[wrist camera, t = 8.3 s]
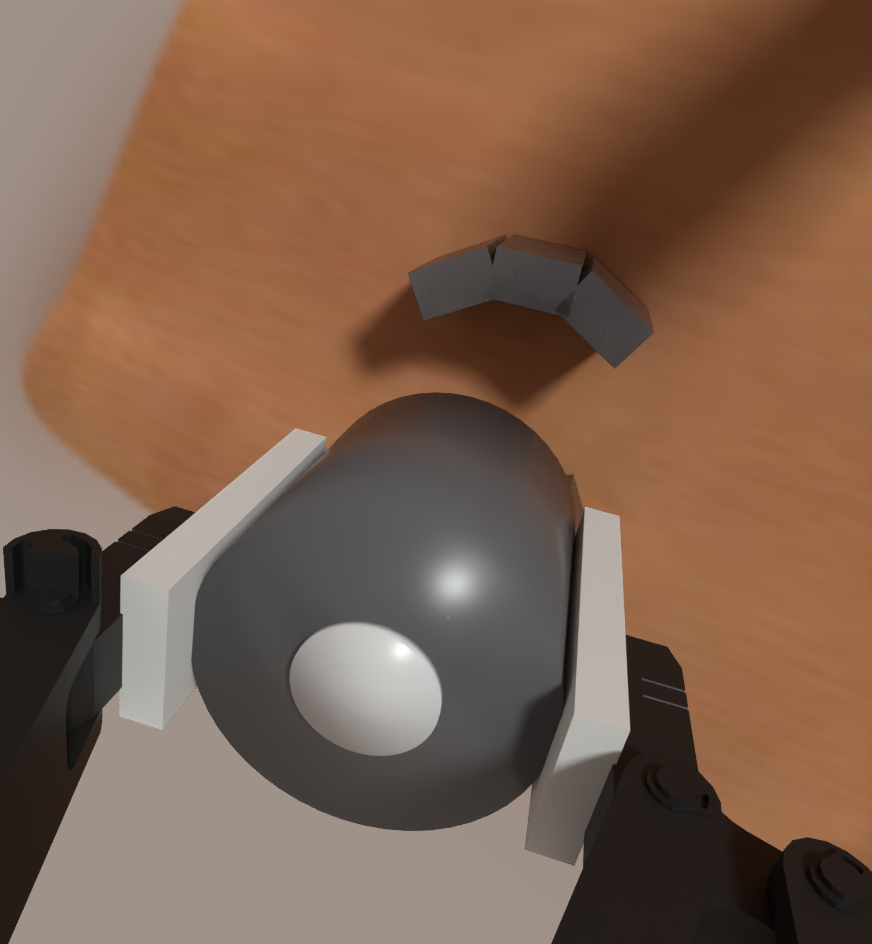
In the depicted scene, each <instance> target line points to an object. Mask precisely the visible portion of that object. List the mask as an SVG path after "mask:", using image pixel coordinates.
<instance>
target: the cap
mask: <svg viewBox="0 0 872 944" xmlns="http://www.w3.org/2000/svg"><path fill="white" fill-rule="evenodd" d="M575 529H576V515H575V504H574V500H573V495H572V490H571V488H570V485H569V482H568V479H567V477H566V474H565V472H564V470H563V469H562V467H561V465H560V463H559V461H558V459H557V458H556V456H555V455H554V454H553V452H552V451H551V449H550V448H549V447H548V445H547V444H546V443H545V442H544V441H543V440H542V439H541V438H540V437H539V436H538V435H537V433H536V432H535V431H533V430H532V429H531V428H530V427H528V426H527V425H526V424H525V423H524V422H522V421H521V420H520V419H518V418H517V417H515V416H513V415H512V414H510V413H509V412H507V411H505V410H503V409H501V408H499V407H497V406H495V405H493V404H491V403H488V402H485V401H482V400H479V399H476V398H473V397H469V396H464V395H458V394H453V393H436V392H435V393H421V394H414V395H409V396H404V397H400V398H397V399H394V400H392V401H389V402H386V403H384V404H382V405H380V406H378V407H376V408H374V409H372V410H370V411H369V412H368V413H366V414H365V415H363V416H362V417H361V418H359V419H358V420H357V421H356V422H355V423H354V424H353V425H352V426H351V427H349V428H348V429H347V430H346V431H345V432H344V433H343V434H342V435H341V436H340V437H339V438H338V439H337V440H336V441H335V443H334V444H333V445H332V446H331V447H330V448H329V449H328V450H327V451H326V452H325V453H324V454H323V455H322V456H321V457H320V458H319V459H318V460H317V461H316V462H315V463H314V464H313V465H312V466H311V467H310V468H309V469H308V470H307V471H306V472H305V473H304V474H303V475H302V476H301V477H300V478H299V479H298V480H297V481H296V482H295V483H294V484H293V485H292V486H291V487H290V488H289V489H288V490H287V491H286V492H285V493H284V494H283V495H282V496H281V497H280V498H279V499H278V500H277V501H276V502H275V503H274V504H273V505H272V506H271V507H270V508H269V509H268V510H267V511H266V512H265V513H264V514H263V515H262V516H261V517H260V518H259V519H258V520H257V521H256V522H255V523H254V524H253V525H252V526H251V527H250V528H249V529H248V530H247V531H246V532H245V533H244V534H243V535H242V536H241V537H240V538H239V539H238V540H237V541H236V542H235V543H234V544H233V545H232V547H231V548H230V549H229V550H228V551H227V552H226V553H225V554H224V555H223V556H222V557H221V558H220V559H219V560H218V561H217V562H216V564H215V565H214V567H213V568H212V569H211V571H210V572H209V573H208V575H207V576H206V578H205V580H204V582H203V584H202V586H201V588H200V590H199V592H198V595H197V598H196V601H195V612H194V627H193V642H192V657H191V661H192V667H193V672H194V676H195V679H196V682H197V686H198V689H199V692H200V694H201V696H202V698H203V701H204V703H205V705H206V707H207V710H208V711H209V713H210V714H211V716H212V718H213V720H214V721H215V723H216V725H217V726H218V728H219V729H220V731H221V732H222V733H223V735H224V736H225V737H226V739H227V740H228V741H229V743H230V744H231V745H232V746H233V747H234V749H235V750H236V751H237V752H238V753H239V754H240V755H241V756H242V757H243V758H244V759H245V761H246V762H248V763H249V764H250V765H251V766H252V767H253V768H254V769H255V770H256V771H258V772H259V773H260V774H261V775H262V776H263V777H265V778H266V779H267V780H269V781H270V782H272V783H273V784H274V785H276V786H277V787H278V788H280V789H281V790H283V791H284V792H286V793H288V794H289V795H291V796H293V797H294V798H296V799H297V800H299V801H301V802H303V803H305V804H307V805H309V806H311V807H313V808H315V809H317V810H319V811H322V812H324V813H327V814H329V815H332V816H335V817H338V818H340V819H343V820H347V821H350V822H354V823H357V824H361V825H365V826H371V827H377V828H383V829H391V830H403V831H423V830H434V829H443V828H450V827H454V826H458V825H462V824H466V823H470V822H473V821H475V820H477V819H480V818H483V817H485V816H488V815H490V814H492V813H494V812H496V811H498V810H499V809H501V808H503V807H505V806H507V805H508V804H509V803H511V802H512V801H513V800H514V799H516V798H517V797H518V796H520V795H521V794H522V793H524V791H525V790H526V789H527V788H528V787H529V786H530V785H531V784H532V783H533V782H534V781H535V780H536V779H537V778H538V776H539V775H540V773H541V772H542V770H543V767H544V764H545V762H546V759H547V756H548V753H549V750H550V748H551V745H552V742H553V739H554V736H555V733H556V731H557V728H558V725H559V722H560V719H561V717H562V712H563V699H564V685H565V671H566V657H567V643H568V629H569V614H570V600H571V586H572V572H573V558H574V544H575Z"/></svg>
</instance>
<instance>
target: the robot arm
mask: <svg viewBox="0 0 872 944" xmlns="http://www.w3.org/2000/svg"><path fill="white" fill-rule="evenodd" d="M326 439H327V437H325V436H321V435H317V434H314V433H310V432H306V431H302V430H299V429H294V430H293V431H292V432H291V433H290V434H288V435H287V436H286V437H285V438H284V439H282V440H281V441H280V442H279V443H278V444H276V445H275V446H274V447H273V448H272V449H271V450H269V451H268V452H267V453H266V454H265V455H263V456H262V457H261V458H260V459H259V460H257V461H256V462H255V463H254V464H253V465H252V466H250V467H249V468H248V469H247V470H246V471H244V472H243V473H242V474H241V475H240V476H238V477H237V478H236V479H235V480H234V481H233V482H231V483H230V484H229V485H228V486H227V487H225V488H224V489H223V490H222V491H221V492H219V493H218V494H217V495H216V496H215V497H214V498H212V499H211V500H210V501H209V502H208V503H206V504H205V505H204V506H203V507H202V508H200V509H199V510H198V511H197V512H192V511H189V510H185V509H182V508H178V507H175V506H174V507H172V508H169V509H166V510H163V511H160V512H157V513H154V514H152V515H149V516H148V517H147V518H145V519H144V520H143V521H142V522H140V523H139V524H138V525H136V526H135V527H134V528H133V529H132V531H128V532H127V533H126V534H124V535H123V536H122V537H120V538H119V539H118V542H114V543H113V544H111V545H110V546H109V547H107V548H106V549H105V550H103V551H102V548H101V546H100V545H99V543H98V541H97V540H96V539H94V538H92V537H90V536H89V535H87V534H85V533H81V532H77V531H73V530H66V529H64V530H63V529H48V530H42V531H37V532H31V533H28V534H26V535H23V536H20V537H18V538H15V539H13V540H12V541H11V542H9V543H8V544H7V545H5V546H4V547H3V554H4V567H5V582H6V595H5V597H4V598H0V944H8V943H9V941H10V938H11V936H12V934H13V932H14V929H15V927H16V924H17V922H18V920H19V918H20V915H21V913H22V911H23V909H24V906H25V904H26V901H27V899H28V897H29V895H30V892H31V890H32V888H33V886H34V883H35V881H36V879H37V876H38V874H39V872H40V869H41V867H42V865H43V863H44V860H45V858H46V856H47V853H48V851H49V849H50V846H51V844H52V842H53V840H54V837H55V835H56V833H57V831H58V828H59V826H60V823H61V821H62V819H63V816H64V814H65V812H66V810H67V808H68V805H69V803H70V801H71V798H72V796H73V794H74V791H75V789H76V787H77V785H78V782H79V780H80V778H81V775H82V773H83V770H84V768H85V766H86V764H87V761H88V759H89V757H90V755H91V752H92V750H93V748H94V745H95V743H96V741H97V739H98V736H99V734H100V731H101V725H102V708H103V707H104V706H105V705H106V704H107V703H108V701H109V700H110V699H111V698H112V697H113V696H114V695H115V694H116V693H117V692H118V691H120V692H119V695H120V696H119V698H120V699H119V716H120V717H123V718H126V719H129V720H132V721H135V722H138V723H141V724H144V725H147V726H150V727H153V728H156V729H159V730H163V729H164V728H165V727H166V725H167V724H168V723H169V722H170V720H171V719H172V717H173V716H174V715H175V714H176V713H177V711H178V710H179V709H180V708H181V706H182V705H183V704H184V702H185V701H186V700H187V699H188V697H189V696H190V695H191V693H192V692H193V691H194V689H195V688H196V687H197V682H196V679H195V676H194V672H193V667H192V661H191V657H192V642H193V627H194V612H195V601H196V598H197V595H198V592H199V590H200V588H201V586H202V584H203V582H204V580H205V578H206V576H207V575H208V573H209V572H210V571H211V569H212V568H213V567H214V565H215V564H216V562H217V561H218V560H219V559H220V558H221V557H222V556H223V555H224V554H225V553H226V552H227V551H228V550H229V549H230V548H231V547H232V545H233V544H234V543H235V542H236V541H237V540H238V539H239V538H240V537H241V536H242V535H243V534H244V533H245V532H246V531H247V530H248V529H249V528H250V527H251V526H252V525H253V524H254V523H255V522H256V521H257V520H258V519H259V518H260V517H261V516H262V515H263V514H264V513H265V512H266V511H267V510H268V509H269V508H270V507H271V506H272V505H273V504H274V503H275V502H276V501H277V500H278V499H279V498H280V497H281V496H282V495H283V494H284V493H285V492H286V491H287V490H288V489H289V488H290V487H291V486H292V485H293V484H294V483H295V482H296V481H297V480H298V479H299V478H300V477H301V476H302V475H303V474H304V473H305V472H306V471H307V470H308V469H309V468H310V467H311V466H312V465H313V464H314V463H315V462H316V461H317V460H318V459H319V458H320V457H321V456H322V455H323V454H324V453H325V446H326ZM684 692H685V685H684V679H683V673H682V668H681V666H680V665H679V663H678V662H677V661H676V659H675V658H674V656H673V655H672V653H671V652H670V650H669V649H668V647H666V646H662V645H659V644H655V643H652V642H649V641H645V640H642V639H638V638H635V637H631V636H628V635H625V617H624V598H623V578H622V558H621V538H620V518H619V516H617V515H613V514H609V513H606V512H602V511H598V510H595V509H591V508H587V507H585V508H584V511H583V514H582V517H581V520H580V524H579V527H578V530H577V533H576V536H575V544H574V558H573V572H572V586H571V600H570V614H569V629H568V643H567V657H566V671H565V685H564V699H563V712H562V717H561V719H560V722H559V725H558V728H557V731H556V733H555V736H554V739H553V742H552V745H551V748H550V750H549V753H548V756H547V759H546V762H545V764H544V767H543V770H542V772H541V773H540V775H539V776H538V778H537V779H536V780H535V781H534V782H533V783H532V790H531V799H530V808H529V817H528V826H527V834H526V844H525V850H528V851H531V852H535V853H538V854H540V855H544V856H547V857H549V858H553V859H556V860H559V861H562V862H565V863H568V864H571V865H575V863H576V860H577V858H578V855H579V853H580V851H581V848H582V846H583V843H584V855H583V857H584V858H583V870H582V872H581V875H580V877H579V879H578V882H577V884H576V886H575V889H574V891H573V894H572V896H571V898H570V901H569V903H568V906H567V908H566V910H565V913H564V915H563V917H562V920H561V922H560V925H559V927H558V929H557V932H556V934H555V936H554V939H553V941H552V943H551V944H872V872H871V871H870V870H869V868H868V867H866V866H865V865H864V864H863V863H861V862H860V861H859V860H857V859H856V858H855V857H854V856H852V855H851V854H850V853H848V852H847V851H845V850H843V849H841V848H839V847H837V846H835V845H833V844H831V843H829V842H827V841H822V840H817V839H813V838H808V837H807V838H802V839H797V840H792V841H791V843H790V844H789V845H788V846H787V847H786V848H785V849H784V851H783V852H782V851H780V850H778V849H777V848H775V847H773V846H771V845H770V844H768V843H766V842H764V841H763V840H761V839H759V838H758V837H756V836H754V835H752V834H751V833H749V832H747V831H746V830H744V829H743V828H741V827H740V826H738V825H737V824H735V823H734V822H732V821H731V820H730V819H729V818H728V817H727V816H726V815H725V814H723V813H722V812H721V802H720V800H719V798H718V796H717V794H716V792H715V790H714V788H713V787H712V785H711V784H710V783H709V782H708V781H707V780H706V779H705V778H704V777H703V776H702V775H701V774H700V773H699V772H698V766H697V760H696V754H695V748H694V741H693V735H692V729H691V723H690V716H689V711H688V710H687V707H688V704H687V698H686V693H684Z"/></svg>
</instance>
